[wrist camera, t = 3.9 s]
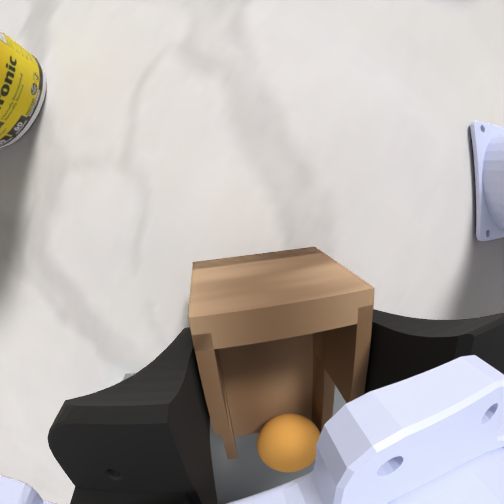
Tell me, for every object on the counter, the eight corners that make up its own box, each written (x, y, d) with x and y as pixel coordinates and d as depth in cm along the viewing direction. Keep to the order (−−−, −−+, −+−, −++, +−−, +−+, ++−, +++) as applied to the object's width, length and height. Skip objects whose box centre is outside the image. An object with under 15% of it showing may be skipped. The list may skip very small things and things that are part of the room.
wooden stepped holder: (314, 246, 13) (374, 288, 8) (314, 408, 15) (348, 475, 10) (192, 262, 12) (188, 318, 8) (223, 424, 15) (233, 500, 10)
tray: (413, 324, 17) (447, 347, 14) (386, 461, 20) (404, 487, 17) (118, 374, 15) (103, 413, 12) (176, 504, 18) (176, 537, 15)
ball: (329, 431, 14) (281, 402, 15) (338, 435, 11) (280, 400, 12) (295, 476, 13) (248, 447, 14) (297, 489, 10) (239, 454, 11)
